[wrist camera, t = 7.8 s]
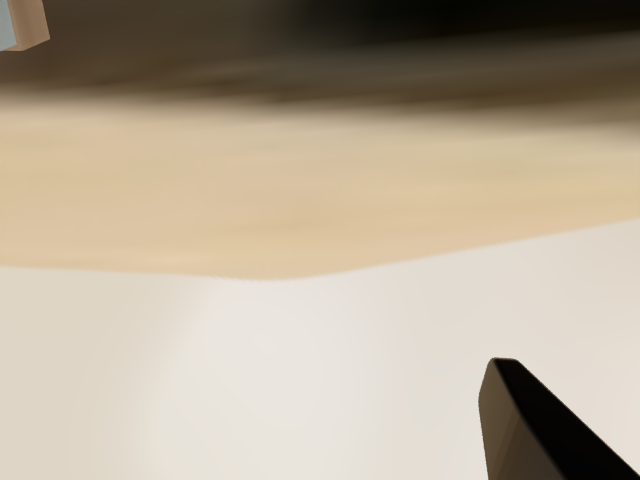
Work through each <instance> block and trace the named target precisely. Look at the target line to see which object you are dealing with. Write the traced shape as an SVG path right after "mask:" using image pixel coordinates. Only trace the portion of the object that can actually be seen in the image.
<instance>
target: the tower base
mask: <svg viewBox="0 0 640 480" xmlns="http://www.w3.org/2000/svg"><path fill="white" fill-rule="evenodd" d="M7 4H8V8H9V13H10V17H11V21H12V26H13V30H14V35H15V39H16V43H17V45H14V46H12V47H9V48H7V49H4V50H12V51H23V50H26V49H28V48H30V47H33V46H35V45H37V44H40V43H42V42H44V41H46V40H49V39H50V36H49V32H48V27H47V22H46V17H45V13H44V8H43V3H42V0H7Z"/></svg>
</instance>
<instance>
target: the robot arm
mask: <svg viewBox="0 0 640 480" xmlns="http://www.w3.org/2000/svg"><path fill="white" fill-rule="evenodd" d="M478 403H479V413H480V420H481V428H482V435H483V443H484V450H485V458H486V465H487V472H488V480H640V475H639V474H638V473H637V472H636V471H634V470H633V469H632V468H631V467H630V466H629V465H628V464H627V463H626V462H625V461H624V460H623V459H622V458H621V457H620V456H619V455H617V454H616V453H615V452H614V451H613V450H612V449H611V448H610V447H609V446H608V445H607V444H606V443H605V442H604V441H603V440H602V439H601V438H599V436H597V435H596V434H595V433H594V432H593V431H592V430H591V429H590V428H589V427H588V426H587V425H586V424H585V423H584V422H582V421H581V419H580V418H578V417H577V416H576V415H575V414H574V413H573V412H572V411H571V410H570V409H569V408H568V407H567V406H566V405H565V404H564V403H563V402H562V401H560V400H559V399H558V398H557V397H556V396H555V395H554V394H553V393H552V392H551V391H550V390H549V389H548V388H547V387H546V386H545V385H544V384H543V383H542V382H540V381H539V380H538V379H537V378H536V377H535V376H534V375H533V374H532V373H531V372H530V371H529V370H527V368H525V366H524V365H522V364H521V363H520V362H519V361H518V360H515V359H511V358H492V359H491V360H490V361H489V363H488V365H487V369H486V372H485V375H484V379H483V382H482V385H481V389H480V392H479V401H478Z"/></svg>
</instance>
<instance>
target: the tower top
mask: <svg viewBox="0 0 640 480" xmlns="http://www.w3.org/2000/svg"><path fill="white" fill-rule="evenodd" d="M14 45H17V43H16V39H15V35H14V30H13V26H12V21H11V17H10V13H9V8H8V4H7V0H0V51H2V50H4V49H7V48H9V47H12V46H14Z"/></svg>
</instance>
